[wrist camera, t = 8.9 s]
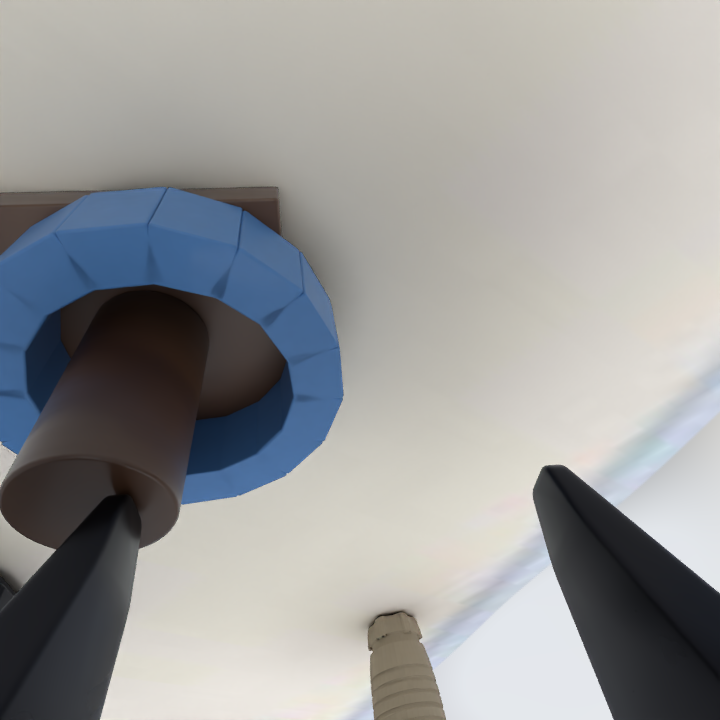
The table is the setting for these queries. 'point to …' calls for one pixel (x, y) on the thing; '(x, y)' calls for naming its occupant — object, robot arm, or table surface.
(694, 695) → the robot arm
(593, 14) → the table surface
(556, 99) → the table surface
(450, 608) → the table surface
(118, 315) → the peg stand
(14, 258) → the tape
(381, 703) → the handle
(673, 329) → the table surface
